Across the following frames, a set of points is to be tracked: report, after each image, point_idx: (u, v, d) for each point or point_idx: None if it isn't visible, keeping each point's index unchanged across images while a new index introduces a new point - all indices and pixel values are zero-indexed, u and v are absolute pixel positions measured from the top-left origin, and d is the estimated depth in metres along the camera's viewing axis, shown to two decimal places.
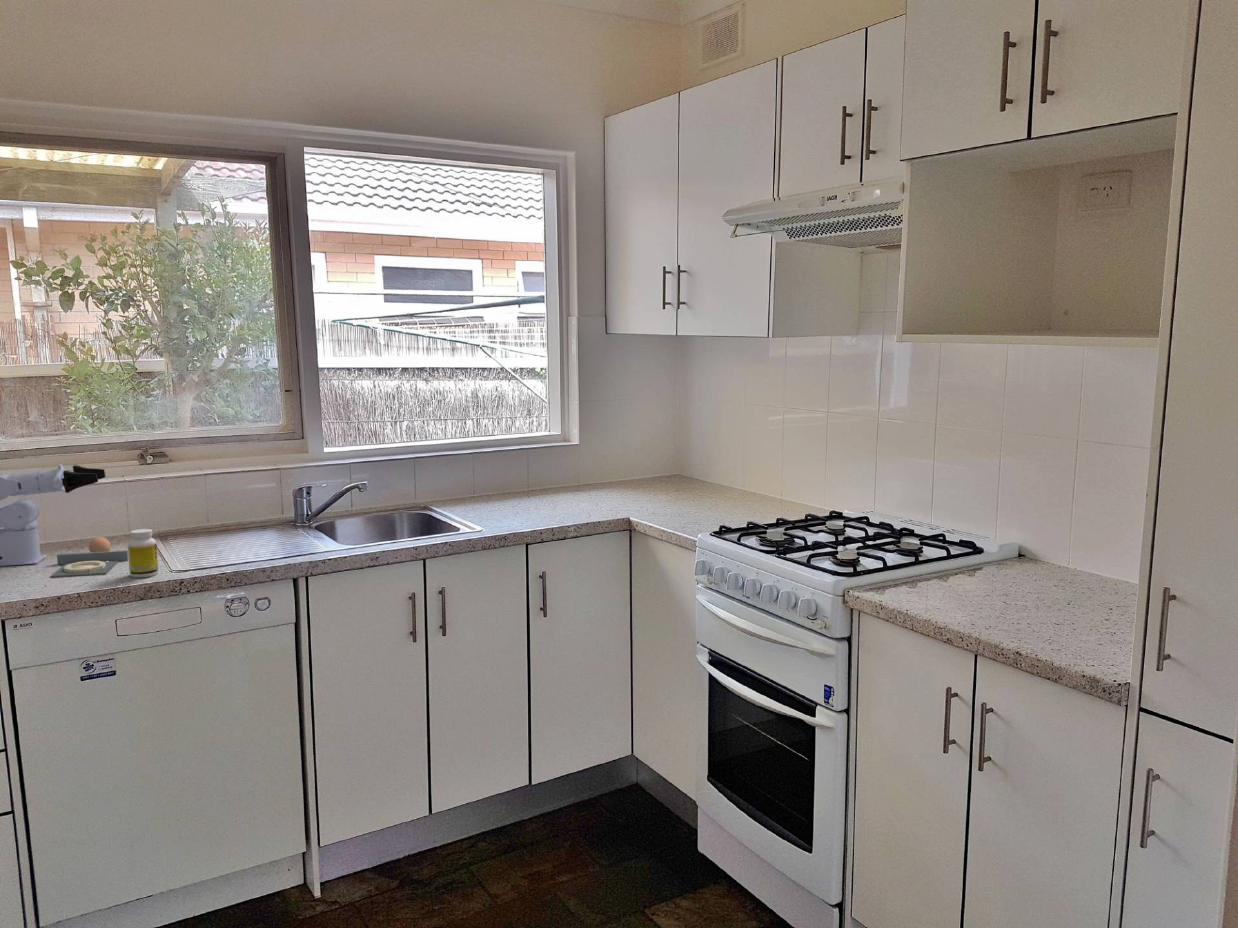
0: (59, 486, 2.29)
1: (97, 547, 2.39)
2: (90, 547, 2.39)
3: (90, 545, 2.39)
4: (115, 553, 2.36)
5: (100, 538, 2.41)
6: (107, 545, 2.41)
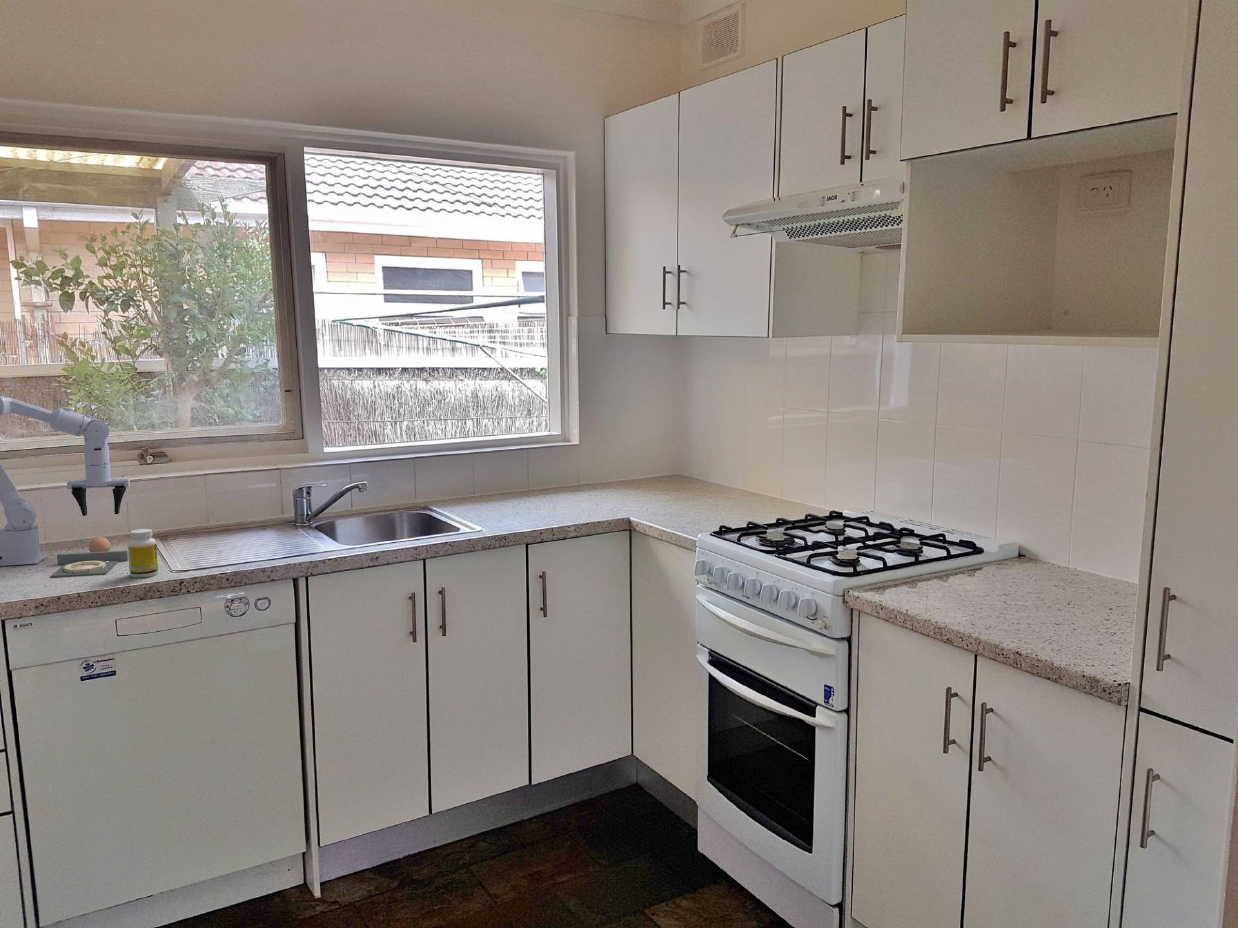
0: (128, 484, 2.45)
1: (97, 547, 2.39)
2: (90, 547, 2.39)
3: (90, 545, 2.39)
4: (115, 553, 2.36)
5: (100, 538, 2.41)
6: (107, 545, 2.41)
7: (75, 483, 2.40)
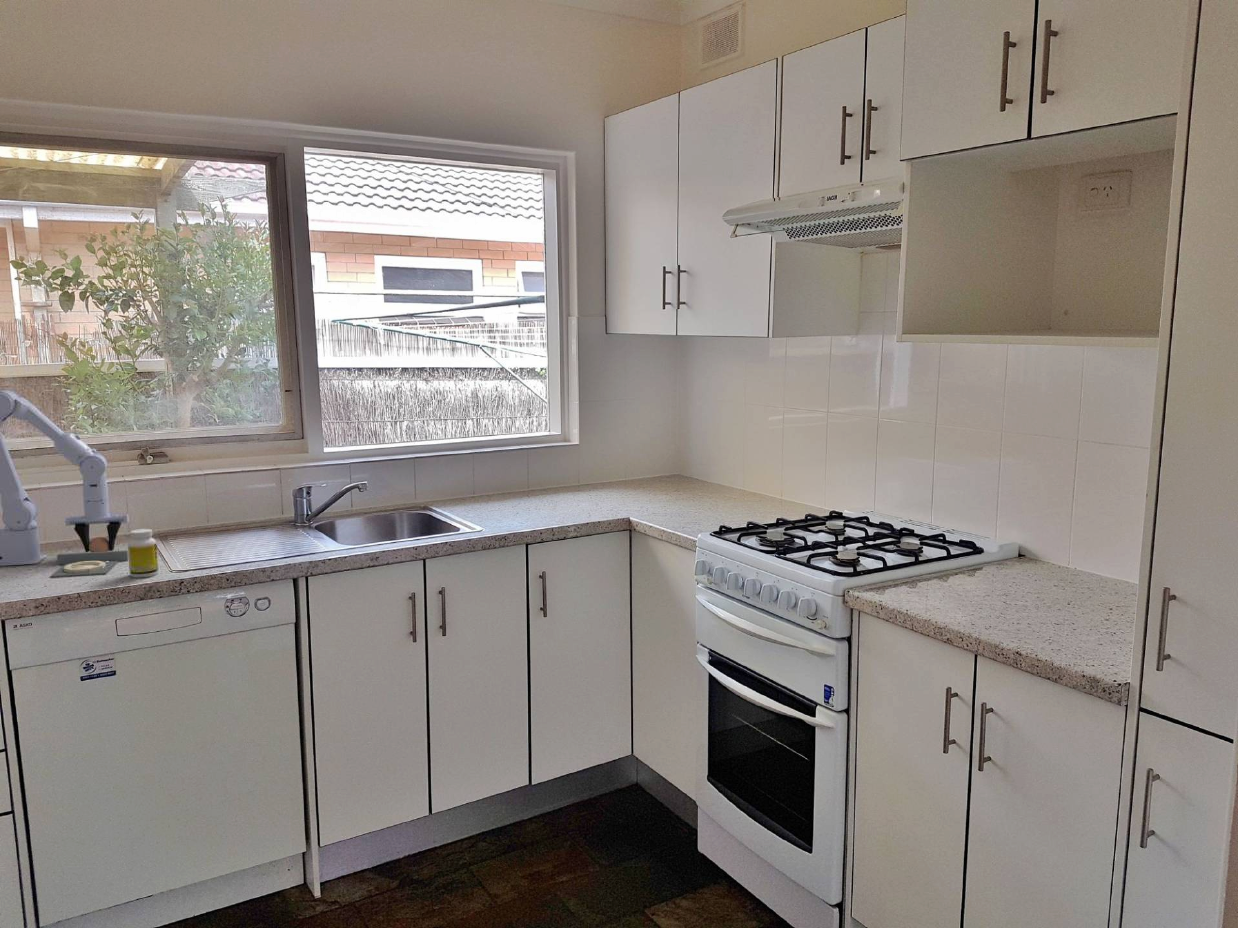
0: (127, 520, 2.42)
1: (97, 547, 2.39)
2: (90, 547, 2.39)
3: (90, 545, 2.39)
4: (115, 553, 2.36)
5: (100, 538, 2.41)
6: (107, 545, 2.41)
7: (73, 520, 2.38)
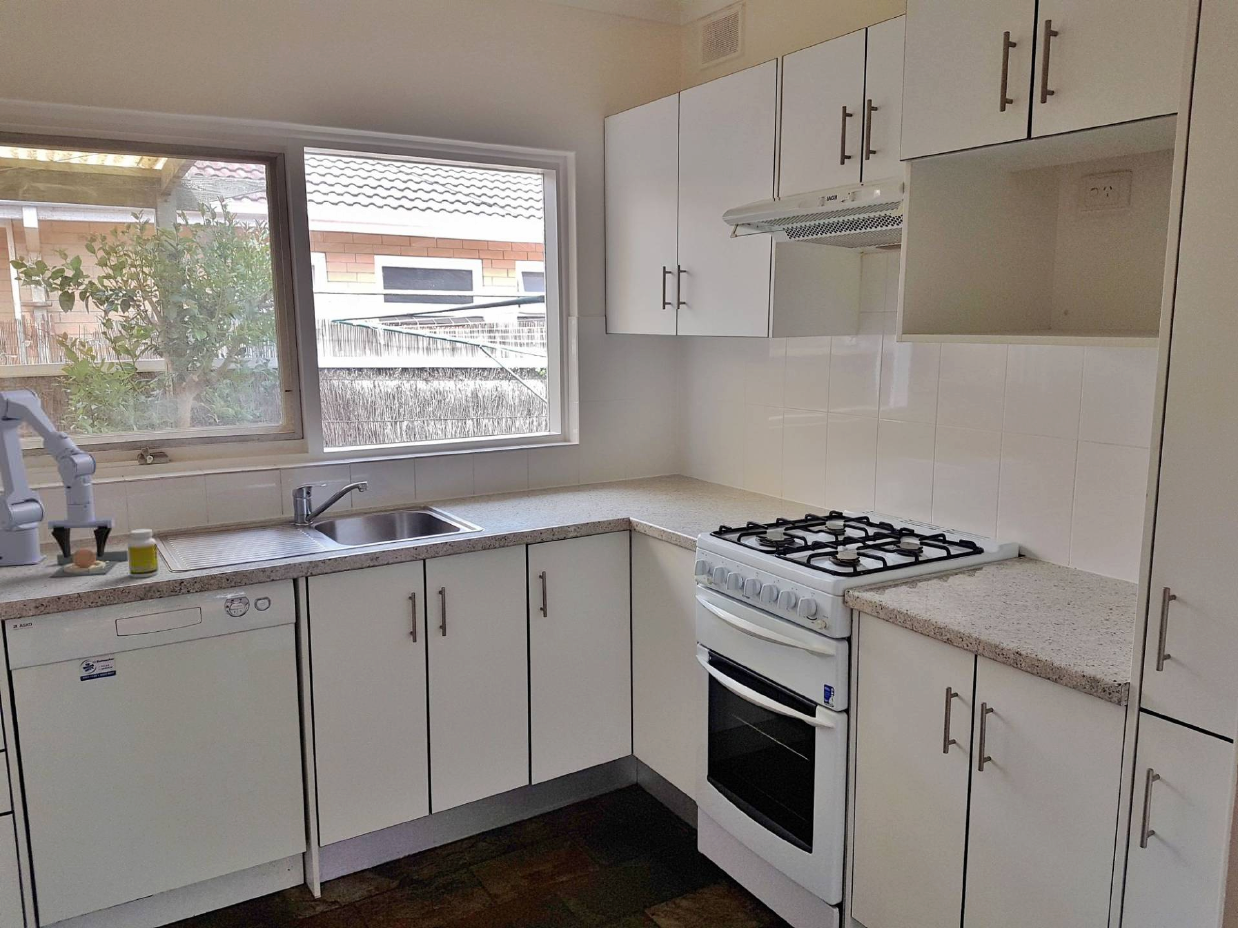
0: (112, 525, 2.27)
1: (80, 559, 2.25)
2: (73, 558, 2.25)
3: (73, 556, 2.25)
4: (115, 553, 2.36)
5: (84, 549, 2.26)
6: (91, 557, 2.26)
7: (55, 523, 2.24)
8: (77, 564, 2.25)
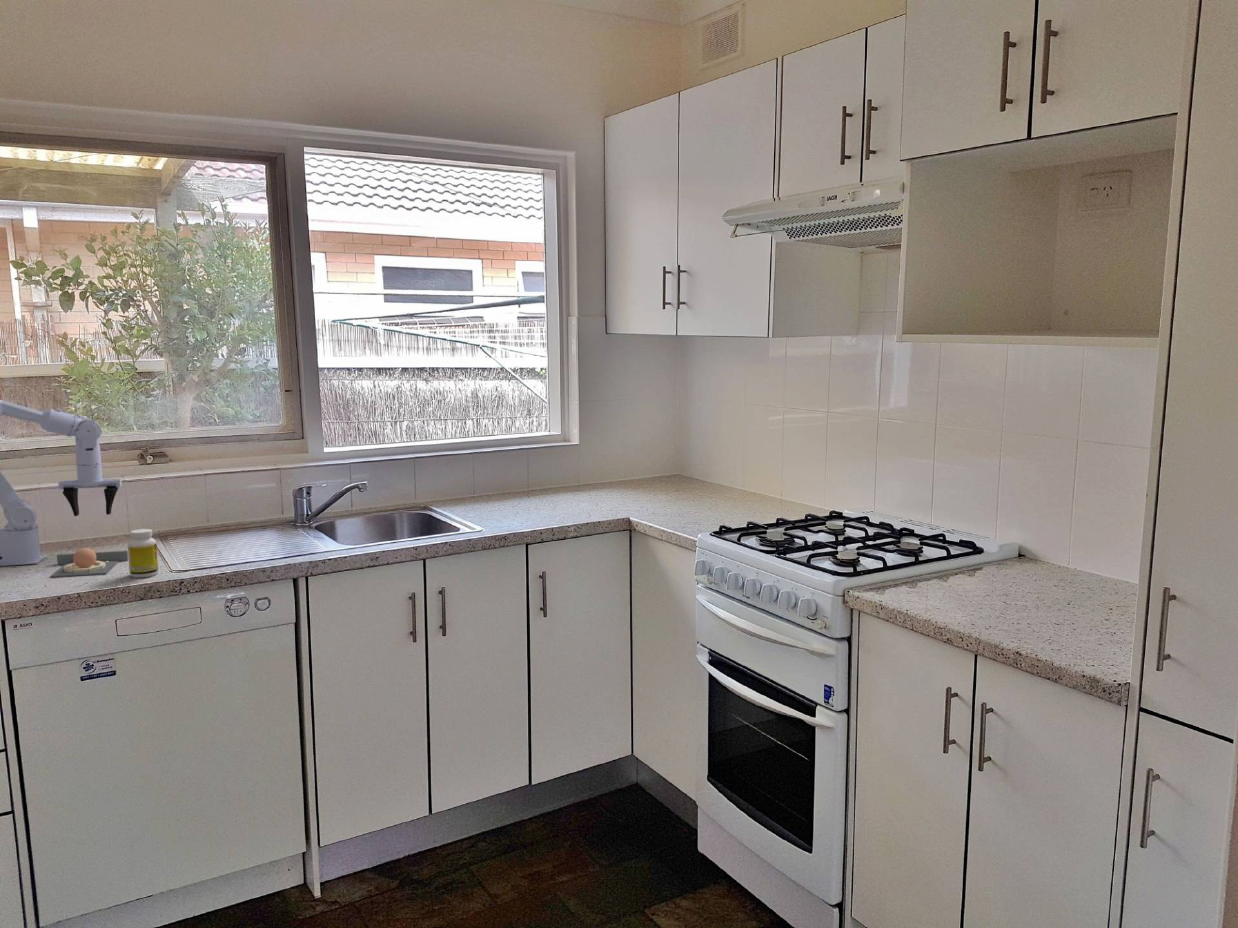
0: (120, 484, 2.44)
1: (81, 559, 2.25)
2: (74, 558, 2.25)
3: (74, 556, 2.25)
4: (115, 553, 2.36)
5: (85, 549, 2.26)
6: (92, 557, 2.26)
7: (66, 484, 2.40)
8: (77, 564, 2.25)
